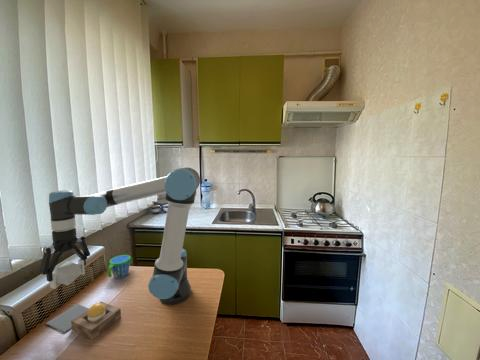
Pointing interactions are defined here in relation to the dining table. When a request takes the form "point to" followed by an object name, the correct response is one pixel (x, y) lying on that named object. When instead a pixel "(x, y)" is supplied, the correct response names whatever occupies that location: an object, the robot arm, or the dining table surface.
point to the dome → (96, 312)
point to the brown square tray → (94, 329)
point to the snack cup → (119, 266)
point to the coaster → (67, 318)
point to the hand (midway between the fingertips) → (68, 280)
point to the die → (67, 273)
